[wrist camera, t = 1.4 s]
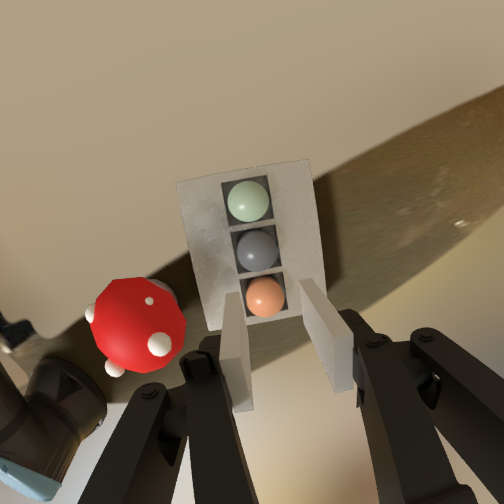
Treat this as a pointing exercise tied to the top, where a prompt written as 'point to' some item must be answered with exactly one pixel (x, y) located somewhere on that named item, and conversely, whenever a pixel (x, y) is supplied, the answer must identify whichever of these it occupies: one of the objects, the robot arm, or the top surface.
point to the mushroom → (137, 325)
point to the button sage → (248, 201)
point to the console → (232, 229)
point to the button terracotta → (264, 296)
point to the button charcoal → (256, 251)
